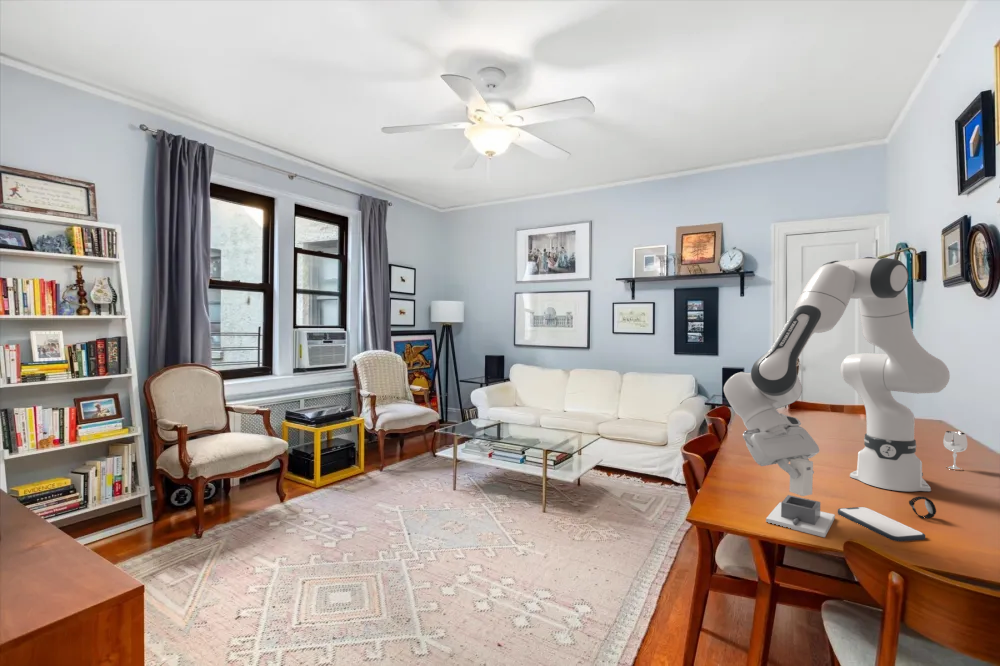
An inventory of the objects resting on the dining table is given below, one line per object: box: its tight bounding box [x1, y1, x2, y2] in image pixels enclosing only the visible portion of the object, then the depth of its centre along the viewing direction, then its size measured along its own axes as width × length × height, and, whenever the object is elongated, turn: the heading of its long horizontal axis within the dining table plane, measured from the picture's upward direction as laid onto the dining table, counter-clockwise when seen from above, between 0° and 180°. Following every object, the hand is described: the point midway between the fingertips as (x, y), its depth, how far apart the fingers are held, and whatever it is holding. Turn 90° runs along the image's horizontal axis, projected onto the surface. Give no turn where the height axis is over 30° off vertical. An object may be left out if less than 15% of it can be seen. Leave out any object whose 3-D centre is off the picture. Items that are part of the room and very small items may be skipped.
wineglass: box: [942, 430, 968, 469], centre depth 158 cm, size 6×6×12 cm
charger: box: [789, 458, 814, 497], centre depth 117 cm, size 3×4×8 cm
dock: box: [765, 494, 836, 538], centre depth 118 cm, size 14×12×4 cm
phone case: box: [837, 506, 926, 542], centre depth 115 cm, size 9×2×16 cm
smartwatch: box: [908, 496, 937, 519], centre depth 120 cm, size 4×5×5 cm
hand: (803, 476), depth 117 cm, fingers closed on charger, 3 cm apart
